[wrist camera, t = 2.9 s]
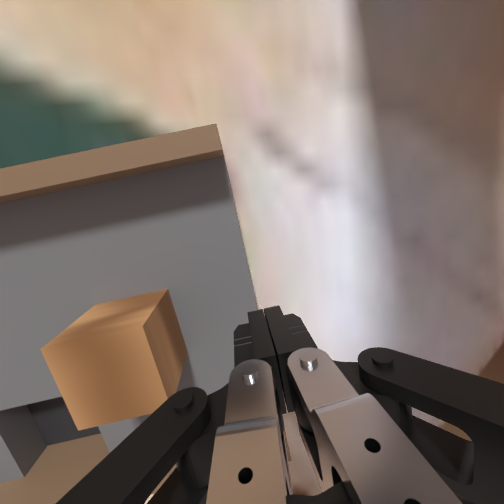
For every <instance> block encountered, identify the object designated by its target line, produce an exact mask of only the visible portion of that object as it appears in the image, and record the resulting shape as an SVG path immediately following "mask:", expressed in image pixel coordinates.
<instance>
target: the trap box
mask: <svg viewBox="0 0 504 504" xmlns="http://www.w3.org/2000/svg"><path fill="white" fill-rule="evenodd" d="M164 289H168V290H169V293H170V296H171V300H172V303H173V306H174V309H175V313H176V316H177V319H178V322H179V325H180V329H181V332H182V335H183V338H184V342H185V345H186V348H187V351H188V352H187V356H186V359H185V363H184V366H183V370H182V373H181V377H180V380H179V384H178V387H177V391H176V392H178V391H180V390H182V389H185V388H189V387H198V388H201V389H203V390H204V391H205V392H206V394H207V395H209V394H211V393H213V392H215V391H217V390H219V389H221V388H222V387H224V386H225V385H226V384H227V383H228V382H229V377H230V373H231V371H232V370H233V369H234V331H235V329H236V327H237V326H238V325H241V324H246V323H249V320H248V314H247V312H251V311H256V310H258V307H257V302H256V298H255V293H254V289H253V284H252V280H251V275H250V271H249V266H248V262H247V258H246V253H245V249H244V244H243V240H242V235H241V231H240V226H239V222H238V217H237V213H236V208H235V204H234V199H233V195H232V190H231V186H230V181H229V177H228V172H227V168H226V163H225V159H224V154H223V150H222V145H221V141H220V137H219V133H218V129H217V125H216V124H212V125H207V126H202V127H197V128H192V129H188V130H183V131H178V132H173V133H169V134H164V135H159V136H154V137H150V138H145V139H140V140H135V141H130V142H126V143H121V144H116V145H111V146H107V147H102V148H97V149H92V150H87V151H83V152H78V153H73V154H68V155H64V156H59V157H54V158H49V159H45V160H40V161H35V162H30V163H25V164H21V165H16V166H11V167H6V168H2V169H0V504H56V503H57V502H58V501H59V500H60V499H61V498H62V497H63V496H64V495H65V494H66V493H67V492H68V491H70V490H71V489H72V488H73V487H74V486H75V485H76V484H77V483H78V482H79V481H80V480H81V479H82V478H83V477H85V476H86V475H87V474H88V473H89V472H90V471H91V470H92V469H93V468H94V467H95V466H96V465H97V464H99V463H100V462H101V461H102V460H103V459H104V458H105V457H106V456H107V455H108V454H109V453H110V452H111V451H112V450H114V449H115V448H116V447H117V446H118V445H119V444H120V443H121V442H122V441H123V440H124V439H125V438H126V437H127V436H129V435H130V434H131V433H132V432H133V431H134V430H135V429H136V428H137V427H138V426H139V425H140V424H141V423H143V422H144V421H145V420H146V419H147V418H148V417H149V416H150V415H151V414H147V415H143V416H139V417H135V418H130V419H126V420H122V421H118V422H113V423H109V424H105V425H100V426H96V427H92V428H88V429H83V430H79V431H78V429H77V427H76V425H75V423H74V421H73V418H72V416H71V414H70V412H69V410H68V408H67V406H66V403H65V401H64V399H63V397H62V395H61V393H60V391H59V389H58V386H57V384H56V382H55V380H54V378H53V376H52V374H51V371H50V369H49V367H48V365H47V363H46V361H45V359H44V356H43V354H42V352H41V350H40V349H41V348H42V347H44V346H45V345H46V344H47V343H49V342H50V341H51V340H52V339H54V338H55V337H56V336H57V335H58V334H60V333H61V332H62V331H63V330H65V329H66V328H67V327H68V326H70V325H71V324H72V323H73V322H74V321H76V320H77V319H78V318H79V317H81V316H82V315H83V314H84V313H86V312H87V311H88V310H89V309H91V308H92V307H93V306H94V305H97V304H101V303H106V302H110V301H115V300H119V299H124V298H128V297H132V296H137V295H141V294H146V293H150V292H155V291H159V290H164ZM283 432H284V437H285V444H286V451H287V458H288V461H291V456H290V452H289V447H288V443H287V438H286V433H285V429H284V431H283ZM176 467H177V466H176V464H175V465H174V466H173V468H172V469H171V470H170V471H169V472H168V474H167V475H166V476H165V477H164V479H163V480H162V481H161V482H160V483H159V485H158V486H157V487H156V488H155V490H154V491H153V492H152V493H151V494H154V493H156V492H157V491H158V489H159V488H160V487H161V486H162V484H163V483H164V482H165V481H166V479H167V478H168V477H169V476H170V474H171V473H172V472H173V471H174V469H175V468H176Z"/></svg>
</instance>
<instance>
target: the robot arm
mask: <svg viewBox="0 0 504 504" xmlns="http://www.w3.org/2000/svg"><path fill="white" fill-rule="evenodd" d="M247 314H248V320H249V323H246V324H241V325H238V326H237V327H236V329H235V331H234V369H233V370H232V371H231V373H230V377H229V382H228V383H227V384H226V385H225V386H224V387H222V388H221V389H219V390H217V391H215V392H213V393H211V394H209V395H207V394H206V392H205V391H204V390H203V389H201V388H198V387H189V388H185V389H182V390H180V391H178V392H176V393H175V394H173V395H172V396H171V397H169V398H168V399H167V400H166V401H165V402H164V403H163V404H162V405H161V406H160V407H159V408H158V409H156V410H155V411H154V412H153V413H152V414H151V415H150V416H149V417H148V418H147V419H146V420H145V421H144V422H143V423H141V424H140V425H139V426H138V427H137V428H136V429H135V430H134V431H133V432H132V433H131V434H130V435H129V436H127V437H126V438H125V439H124V440H123V441H122V442H121V443H120V444H119V445H118V446H117V447H116V448H115V449H114V450H112V451H111V452H110V453H109V454H108V455H107V456H106V457H105V458H104V459H103V460H102V461H101V462H100V463H99V464H97V465H96V466H95V467H94V468H93V469H92V470H91V471H90V472H89V473H88V474H87V475H86V476H85V477H83V478H82V479H81V480H80V481H79V482H78V483H77V484H76V485H75V486H74V487H73V488H72V489H71V490H70V491H68V492H67V493H66V494H65V495H64V496H63V497H62V498H61V499H60V500H59V501H58V502H57V503H56V504H144V503H145V501H146V500H147V498H148V497H149V496H150V494H151V493H152V492H153V491H154V490H155V488H156V487H157V486H158V485H159V483H160V482H161V481H162V480H163V479H164V477H165V476H166V475H167V474H168V472H169V471H170V470H171V469H172V468H173V466H174V465H175V464H176V466H177V467H176V468H175V469H174V471H173V472H172V473H171V474H170V476H169V477H168V478H167V479H166V481H165V482H164V483H163V484H162V486H161V487H160V488H159V489H158V491H157V492H156V493H155V494H154V495H153V497H152V498H151V499H150V500H149V502H148V503H147V504H504V384H502V383H498V382H495V381H492V380H489V379H486V378H482V377H479V376H476V375H473V374H469V373H466V372H463V371H460V370H456V369H453V368H450V367H447V366H443V365H440V364H437V363H434V362H430V361H427V360H424V359H421V358H417V357H414V356H411V355H408V354H404V353H401V352H398V351H394V350H391V349H387V348H379V347H377V348H369V349H366V350H364V351H362V352H361V353H360V354H359V356H358V362H339V361H334V360H332V359H331V358H330V357H329V355H328V354H327V353H326V352H324V351H323V350H320V349H318V348H317V346H316V344H315V342H314V341H313V339H312V337H311V336H310V334H309V332H308V331H307V329H306V327H305V326H304V323H303V322H302V320H301V318H300V317H298V316H296V315H294V314H288V315H283V313H282V311H281V309H280V306H274V307H270V308H265V309H264V312H263V309H260V310H256V311H251V312H247ZM264 314H265V316H264ZM283 394H284V396H283ZM284 398H285V402H286V405H287V409H288V412H293V411H295V413H296V416H297V420H298V426H299V431H300V435H301V437H302V440H303V443H304V445H305V448H306V450H307V453H308V456H309V458H310V461H311V463H312V466H313V469H314V471H315V474H316V477H317V479H318V482H319V484H320V487H321V490H322V492H323V493H321V494H319V495H316V496H303V495H293V493H292V486H291V479H290V472H289V465H288V458H287V451H286V444H285V437H284V432H283V431H284V421H283V416H282V414H284V413H286V407H285V402H284ZM412 407H413V408H416V409H418V410H420V411H422V412H425V413H427V414H429V415H432V416H434V417H436V418H438V419H441V420H443V421H445V422H448V423H450V424H452V425H454V426H456V427H458V428H460V429H461V430H463V431H464V432H465V433H466V434H467V435H468V436H469V437H470V438H471V440H472V441H473V442H471V441H468V440H465V439H463V438H460V437H458V436H456V435H454V434H452V433H450V432H448V431H445V430H443V429H441V428H439V427H437V426H435V425H432V424H430V423H428V422H426V421H424V420H421V419H419V418H417V417H415V416H413V415H412Z"/></svg>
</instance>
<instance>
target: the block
mask: <svg viewBox="0 0 504 504" xmlns="http://www.w3.org/2000/svg"><path fill="white" fill-rule="evenodd" d="M40 350H41V352H42V354H43V356H44V359H45V361H46V363H47V365H48V367H49V369H50V371H51V374H52V376H53V378H54V380H55V382H56V384H57V386H58V389H59V391H60V393H61V395H62V397H63V399H64V401H65V403H66V406H67V408H68V410H69V412H70V414H71V416H72V418H73V421H74V423H75V425H76V427H77V429H78V431H79V430H83V429H88V428H92V427H96V426H100V425H105V424H109V423H113V422H118V421H122V420H126V419H130V418H135V417H139V416H143V415H147V414H152V413H153V412H154V411H155V410H156V409H158V408H159V407H160V406H161V405H162V404H163V403H164V402H165V401H166V400H167V399H168V398H169V397H171V396H172V395H173V394H175V393H176V391H177V387H178V384H179V380H180V377H181V373H182V370H183V366H184V363H185V359H186V356H187V352H188V351H187V348H186V345H185V342H184V338H183V335H182V332H181V329H180V325H179V322H178V319H177V316H176V313H175V309H174V306H173V303H172V300H171V296H170V293H169V290H168V289H164V290H159V291H155V292H150V293H146V294H141V295H137V296H132V297H128V298H124V299H119V300H115V301H110V302H106V303H101V304H97V305H94V306H93V307H92V308H91V309H89V310H88V311H87V312H86V313H84V314H83V315H82V316H81V317H79V318H78V319H77V320H76V321H74V322H73V323H72V324H71V325H70V326H68V327H67V328H66V329H65V330H63V331H62V332H61V333H60V334H58V335H57V336H56V337H55V338H54V339H52V340H51V341H50V342H49V343H47V344H46V345H45V346H44V347H42V348H41V349H40Z"/></svg>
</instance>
